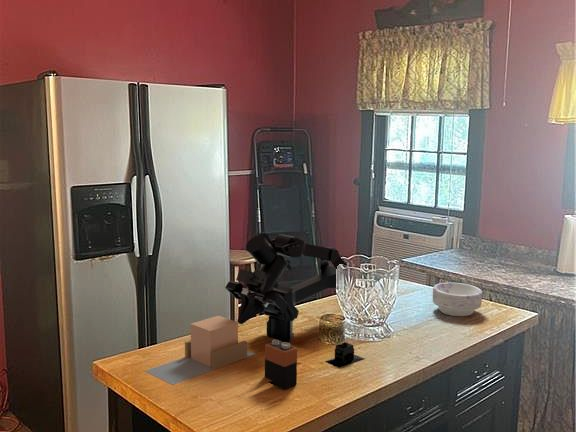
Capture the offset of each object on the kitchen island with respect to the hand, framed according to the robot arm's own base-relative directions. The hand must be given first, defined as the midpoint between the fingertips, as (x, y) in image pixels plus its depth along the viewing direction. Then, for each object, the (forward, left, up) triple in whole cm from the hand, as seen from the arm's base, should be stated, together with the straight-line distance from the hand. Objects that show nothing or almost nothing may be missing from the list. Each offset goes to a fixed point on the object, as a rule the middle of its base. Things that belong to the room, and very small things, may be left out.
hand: (239, 323), depth 159 cm
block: (+4, +7, -7) cm, 11 cm away
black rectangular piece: (-27, -2, -9) cm, 29 cm away
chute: (+6, +11, -8) cm, 15 cm away
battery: (-15, +16, -8) cm, 23 cm away
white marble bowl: (-57, -50, -8) cm, 76 cm away
